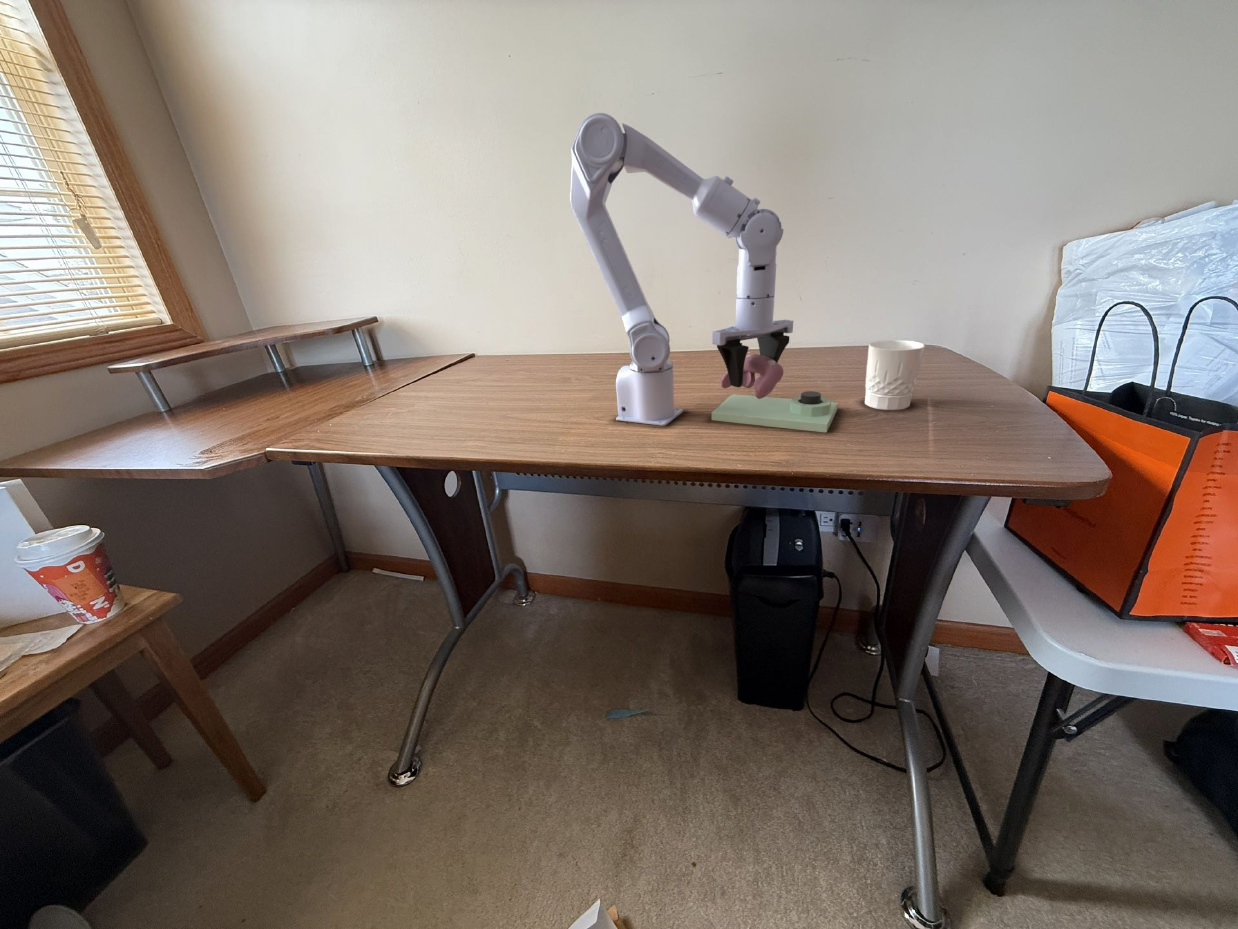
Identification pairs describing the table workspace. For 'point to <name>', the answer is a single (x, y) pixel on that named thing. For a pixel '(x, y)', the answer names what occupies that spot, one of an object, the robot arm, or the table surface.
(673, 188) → the robot arm
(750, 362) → the video game controller
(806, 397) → the button
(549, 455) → the table surface
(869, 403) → the white cup
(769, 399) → the scale
